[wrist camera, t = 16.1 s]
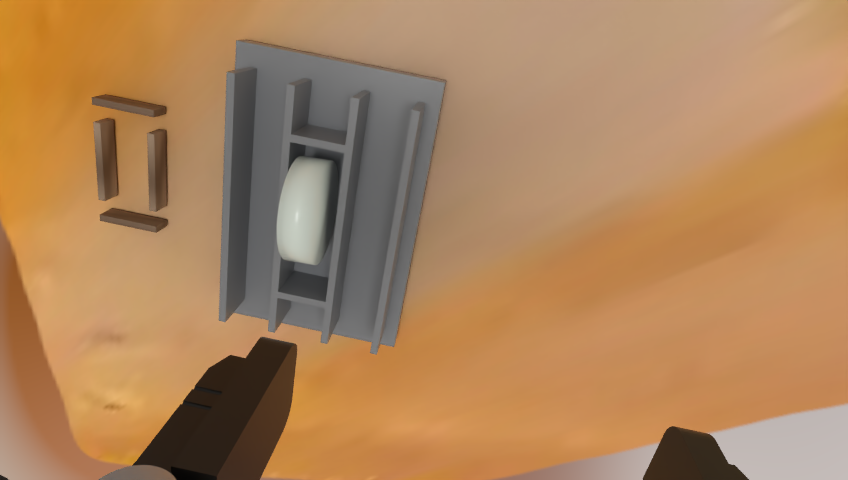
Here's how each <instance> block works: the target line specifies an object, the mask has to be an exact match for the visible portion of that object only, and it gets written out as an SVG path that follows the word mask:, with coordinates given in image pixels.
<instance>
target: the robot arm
mask: <svg viewBox="0 0 848 480" xmlns="http://www.w3.org/2000/svg"><path fill="white" fill-rule="evenodd" d="M296 357H297V345H296V344H294V343H289V342H284V341H280V340H275V339H270V338H266V337H261V338H260V339H259V340H258V341H257V343H256V344H255V346H254V347H253V348H252V350H251V351H250V353H249V354H248V356H247V357H246V358H242V357H237V356H232V355H230V356H228V357H226V358H225V359H223V360H221V361H220V362H218V363H216V364H215V365H213V366H212V367H210V368H209V369H208V370H207V371H206V372H205V374H204V375H203V376H202V378H201V379H200V380H199V381H198V383H197V384H196V385H195V388H194V390H193V389H192V390H191V392H190V393H189V394H188V396H187V397H186V398H185V399H184V401H183V404H182V405H181V404H180V406H179V407H178V408H177V410H176V411H175V412H174V413H173V415H172V416H171V417H170V419H169V420H168V421H167V422H166V424H165V425H164V426H163V428H162V429H161V430H160V431H159V433H158V434H157V435H156V437H155V438H154V439H153V440H152V442H151V443H150V444H149V446H148V447H147V448H146V449H145V451H144V452H143V453H142V454H141V456H140V457H139V458H138V460H137V461H136V462H135V463H134V464H133V465H132V466H129V467H125V468H122V469H118V470H116V471H114V472H111V473H109V474H107V475H105V476H104V477H102V478H100V479H99V480H260V478H261V476H262V474H263V472H264V469H265V467H266V465H267V463H268V461H269V459H270V457H271V455H272V453H273V451H274V449H275V447H276V445H277V442H278V440H279V438H280V436H281V434H282V432H283V430H284V428H285V425H286V422H287V419H288V416H289V412H290V408H291V403H292V395H293V386H294V376H295V366H296ZM0 480H8V479H7V478H5V477H3V476H1V475H0ZM643 480H749V479H748V478H747V477H746V476H745V475H744V474H743V473H742V472H741V471H740V470H739V469H738V468H737V467H736V466H735V465H731V464H728V462H727V460H726V459H725V456H724V455H723V453H722V451H721V450H720V447H719V446H718V444H717V442H716V440H715V439H714V438H713V437H712V436H711V435H710V434H707V433H702V432H697V431H693V430H688V429H683V428H679V427H674V426H672V427H669V428H668V429H667V430H666V432H665V433H664V435H663V438H662V440H661V442H660V444H659V446H658V448H657V450H656V452H655V454H654V456H653V458H652V460H651V463H650V465H649V467H648V469H647V471H646V473H645V475H644V477H643Z"/></svg>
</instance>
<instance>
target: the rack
mask: <svg viewBox="0 0 848 480" xmlns="http://www.w3.org/2000/svg"><path fill="white" fill-rule="evenodd" d="M445 85H446V80H442V79H437V78H432V77H427V76H422V75H417V74H412V73H407V72H402V71H398V70H393V69H388V68H383V67H378V66H373V65H368V64H363V63H358V62H353V61H348V60H343V59H339V58H334V57H329V56H324V55H319V54H314V53H309V52H304V51H299V50H294V49H289V48H285V47H280V46H275V45H270V44H265V43H260V42H255V41H250V40H236V62H235V70H233V71H228V72H227V80H226V112H225V143H224V175H223V207H222V239H221V270H220V302H219V321H223V322H226V321H227V320H228V318H229V317H230V316H231V315H232V314H233V313H238V314H243V315H247V316H252V317H257V318H261V319H266V320H269V325H268V331H270V332H274V333H275V331H276V330H277V328H278V327H279V325H280V324H281V323H285V324H289V325H294V326H299V327H303V328H308V329H313V330H317V331H322V335H321V343H325V344H327V343H328V341H329V339H330V337H331V335H332V334H336V335H341V336H345V337H350V338H355V339H359V340H364V341H369V342H372V345H371V351H370V353H372V354H377V352H378V349H379V346H380V344H383V345H387V346H392V347H394V345H395V341H396V337H397V333H398V327H399V322H400V317H401V312H402V307H403V302H404V296H405V291H406V286H407V281H408V276H409V271H410V266H411V260H412V255H413V250H414V245H415V240H416V235H417V229H418V224H419V219H420V214H421V209H422V204H423V198H424V193H425V188H426V183H427V178H428V173H429V167H430V162H431V157H432V152H433V147H434V142H435V136H436V131H437V126H438V121H439V116H440V111H441V106H442V100H443V95H444V90H445ZM299 156H307V157H314V158H320V159H326V160H332V161H334V162H335V164H336V166H337V170H338V181H339V188H338V202H337V210H336V217H335V222H334V227H333V231H332V235H331V239H330V242H329V245H328V248H327V251H326V253H325V255H324V257H323V259H322V260H321V262H320V263H319V264H318V265H311V264H305V263H299V262H294V261H288V260H284V259H282V257H281V255H280V253H279V250H278V245H277V216H278V208H279V202H280V197H281V193H282V189H283V185H284V182H285V179H286V176H287V174H288V171H289V169H290V167H291V165H292V163H293V162H294V161H295V159H296V158H297V157H299Z"/></svg>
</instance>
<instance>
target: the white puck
mask: <svg viewBox="0 0 848 480" xmlns="http://www.w3.org/2000/svg"><path fill="white" fill-rule="evenodd" d="M338 188H339V181H338V170H337V166H336V164H335V162H334V161H332V160H326V159H320V158H314V157H307V156H299V157H297V158H296V159H295V161H294V162H293V163H292V165H291V167H290V169H289V171H288V174H287V176H286V179H285V182H284V185H283V189H282V193H281V197H280V202H279V208H278V216H277V245H278V250H279V253H280V255H281V257H282V259H284V260H288V261H294V262H299V263H305V264H311V265H318V264H319V263H320V262H321V260H322V259H323V257H324V255H325V253H326V251H327V248H328V245H329V242H330V239H331V235H332V231H333V227H334V222H335V217H336V210H337V202H338Z"/></svg>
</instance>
